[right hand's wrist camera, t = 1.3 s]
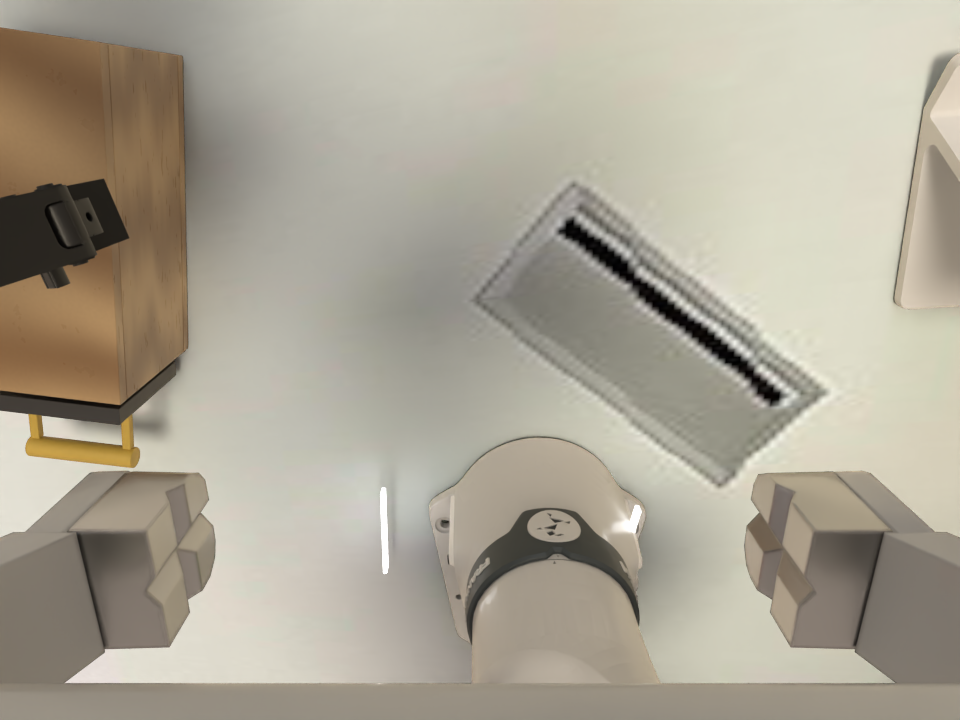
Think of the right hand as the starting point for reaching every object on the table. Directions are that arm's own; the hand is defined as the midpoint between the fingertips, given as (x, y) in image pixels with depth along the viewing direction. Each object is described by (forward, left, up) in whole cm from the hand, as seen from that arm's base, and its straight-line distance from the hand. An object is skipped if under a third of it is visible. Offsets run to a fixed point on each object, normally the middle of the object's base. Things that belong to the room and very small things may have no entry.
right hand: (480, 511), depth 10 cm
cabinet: (-2, +27, -42) cm, 50 cm away
